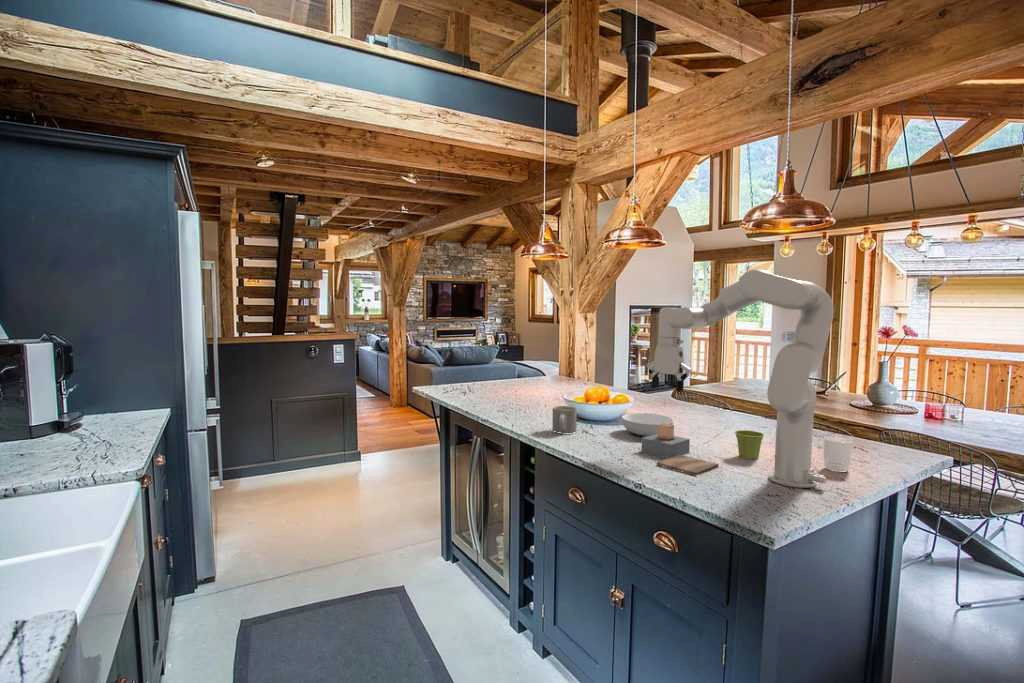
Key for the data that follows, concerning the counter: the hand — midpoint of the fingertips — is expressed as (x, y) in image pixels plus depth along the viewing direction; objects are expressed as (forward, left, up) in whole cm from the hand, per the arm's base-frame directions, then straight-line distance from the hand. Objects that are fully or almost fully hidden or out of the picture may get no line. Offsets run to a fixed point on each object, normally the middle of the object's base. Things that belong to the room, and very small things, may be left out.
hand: (667, 389), depth 181 cm
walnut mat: (-14, +9, -23) cm, 28 cm away
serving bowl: (+20, -18, -23) cm, 36 cm away
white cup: (-47, -26, -23) cm, 58 cm away
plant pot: (-22, -17, -23) cm, 36 cm away
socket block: (0, 0, -23) cm, 23 cm away
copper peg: (0, 0, -23) cm, 23 cm away
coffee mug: (+44, +7, -23) cm, 50 cm away
